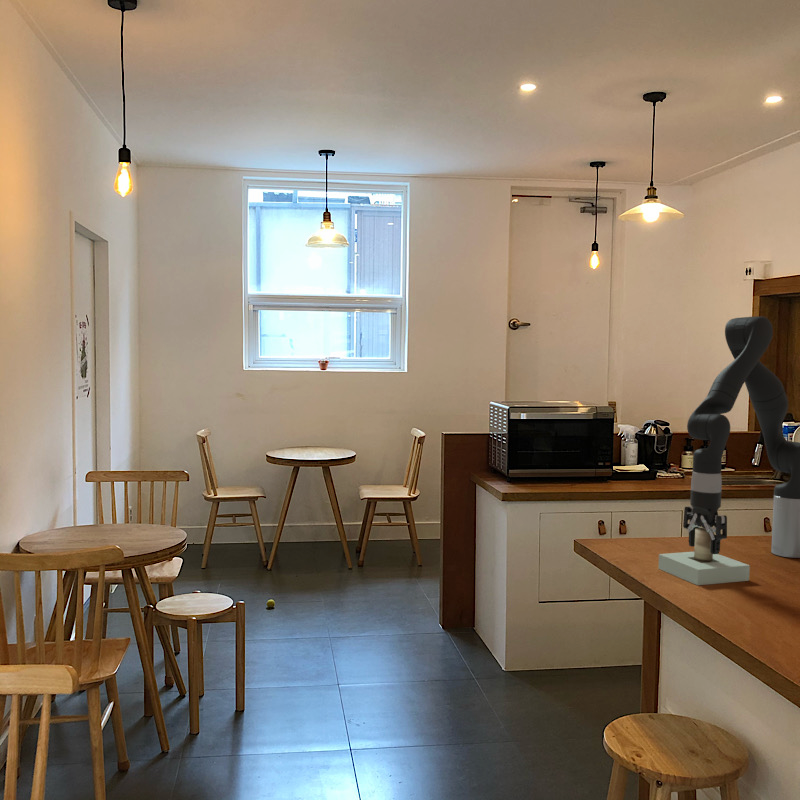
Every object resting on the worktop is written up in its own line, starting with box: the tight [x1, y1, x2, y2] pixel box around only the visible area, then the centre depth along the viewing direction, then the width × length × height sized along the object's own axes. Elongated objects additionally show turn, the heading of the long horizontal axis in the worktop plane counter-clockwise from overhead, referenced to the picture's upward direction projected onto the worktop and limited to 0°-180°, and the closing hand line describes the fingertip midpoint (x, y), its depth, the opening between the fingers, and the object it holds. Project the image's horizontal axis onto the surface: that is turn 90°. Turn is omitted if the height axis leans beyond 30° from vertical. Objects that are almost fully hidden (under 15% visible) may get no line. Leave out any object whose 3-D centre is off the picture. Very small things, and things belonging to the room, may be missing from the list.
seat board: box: [657, 551, 751, 586], centre depth 214 cm, size 16×16×4 cm
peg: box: [693, 527, 713, 563], centre depth 214 cm, size 5×5×12 cm
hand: (703, 549), depth 214 cm, fingers open, 8 cm apart
